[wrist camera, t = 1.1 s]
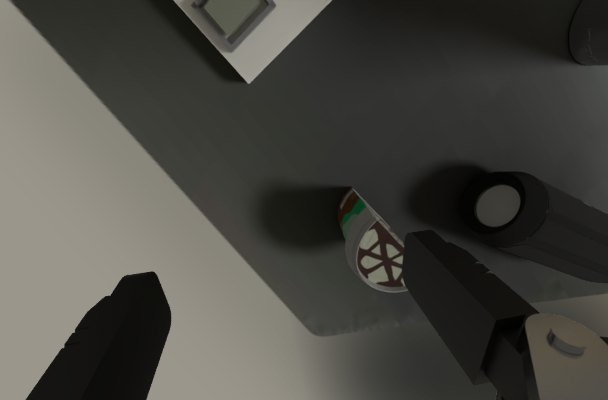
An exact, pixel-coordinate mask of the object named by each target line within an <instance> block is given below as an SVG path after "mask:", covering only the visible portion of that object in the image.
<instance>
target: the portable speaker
mask: <svg viewBox="0 0 608 400" xmlns="http://www.w3.org/2000/svg"><path fill="white" fill-rule="evenodd" d="M461 216H462V219H463V222H464V223H465V225H466V226H467V227H468V228H469V230H470V231H471V232H472V233H473V234H474V235H475V236H476V237H477V238H478V239H479V240H481V241H482V242H484V243H485V244H487V245H490V246H492V247H495V248H498V249H501V250H503V251H506V252H509V253H512V254H514V255H517V256H520V257H523V258H525V259H528V260H531V261H533V262H536V263H539V264H542V265H544V266H547V267H550V268H553V269H555V270H558V271H561V272H563V273H566V274H569V275H572V276H574V277H577V278H580V279H583V280H586V281H591V282H598V283H608V214H606V213H604V212H602V211H600V210H598V209H596V208H594V207H592V206H591V205H589V204H587V203H585V202H583V201H581V200H579V199H577V198H574V197H572V196H570V195H568V194H566V193H564V192H563V191H561V190H559V189H557V188H555V187H553V186H551V185H549V184H547V183H545V182H543V181H541V180H539V179H537V178H536V177H534V176H532V175H530V174H527V173H523V172H494V173H490V174H487V175H485V176H483V177H481V178H479V179H478V180H477V181H475V182H474V183H473V184H472V185H471V186H470V187H469V188H468V190H467V191H466V193H465V195H464V197H463V199H462V203H461Z"/></svg>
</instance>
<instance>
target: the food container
mask: <svg viewBox="0 0 608 400" xmlns="http://www.w3.org/2000/svg"><path fill="white" fill-rule="evenodd" d="M337 215H338V222H339V225H340V227H341V230H342V232H343V235H344V238H345V240H346V243H345V253H346V258H347V261H348V264H349V265H350V267H351V269H352V270H353V271H354V272H355V273H356V274H357V276H358V277H359V278H360V279H361V280H362V281H363V282H365V283H366V284H368V285H370V286H371V287H373V288H375V289H377V290H381V291H384V292H403V291H408V289H407V288H406V286H405V284H404V281H403V278H402V261H403V252H404V243H403V241H402V240H401V239H400V238H399V237H398V236H397V234H396V233H395V232H394V231H393V230H392V229H391V228H390V226H389V225H388V224H387V223H386V222H385V221H384V220H383V219H382V218H381V217H380V216H379V215H378V214H377V213H376V212H375V211H374V210H373V209H372V208H371V207H370V206H369V205H368V204H367V203H366V202H365V201H364V199H363V198H362V197H361V196H360V195H359V194H358V193H357V192H356V191H355V190H354V189H353V188H352V187H350V188H349V189H348V190H347V191H346V192H345V194H344V195H343V197H342V199H341V201H340V203H339V207H338V212H337Z"/></svg>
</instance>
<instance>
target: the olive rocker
mask: <svg viewBox="0 0 608 400" xmlns="http://www.w3.org/2000/svg"><path fill="white" fill-rule="evenodd" d="M259 4H260V1H259V0H209V2H208V3H207V4H206V5H205V7H204V8H205V10H206V11H207V12H208V13H209V14H210V15H211V17H212V18H213V19H214V20H215V21H216V22H217V24H218V25H219V26H220V27H221V28H222V29H223V30H224V32H225V33H226V34H227V35H228V36H232V35H233V34H234V33H235V32H236V30H237V29H238V28H239V27H240V26H241V25H242V24H243V23H244V21H245V20H246V19H247V18H248V17H249V16H250V15H251V13H252V12H253V11H254V10H255V9H256V8H257V7H258V6H259Z"/></svg>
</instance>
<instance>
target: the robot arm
mask: <svg viewBox="0 0 608 400" xmlns="http://www.w3.org/2000/svg"><path fill="white" fill-rule="evenodd" d="M569 46H570V51H571V54H572V56H573V57H574V59H575V60H576V61H577V62H579V63H581V64H583V65H588V66H590V65H608V0H583V1H582V2H581V4H580V6H579V7H578V9H577V11H576V13H575V16H574V18H573V21H572V24H571V28H570V33H569ZM402 278H403V281H404V284H405V286H406V288H407V289H408V291H409V292H410V294H411V295H412V297H413V298H414V300H415V301H416V302H417V304H418V305H419V307H420V308H421V310H422V311H423V312H424V314H425V315H426V317H427V318H428V320H429V321H430V323H431V324H432V325H433V327H434V328H435V330H436V331H437V333H438V334H439V336H440V337H441V338H442V340H443V341H444V343H445V344H446V346H447V347H448V349H449V350H450V351H451V353H452V354H453V356H454V357H455V359H456V360H457V362H458V363H459V364H460V366H461V367H462V369H463V370H464V371H465V373H466V374H467V376H468V377H469V378H470V380H471V382H472V383H473V385H478V384H483V383H487V382H491V383H492V384H493V385H494V386H495V388H496V389H497V390H498V391H497V394H496V400H608V337H599V336H597V335H596V334H595V333H594V332H592V331H591V330H589V329H588V328H586V327H584V326H583V325H581V324H579V323H577V322H575V321H573V320H570V319H568V318H565V317H562V316H559V315H554V314H548V313H539V312H538V311H537V310H536V309H534V308H533V307H532V306H531V305H530V304H529V303H527V302H526V301H525V300H524V299H523V298H522V297H520V296H519V295H518V294H517V293H516V292H515V291H513V290H512V289H511V288H510V287H509V286H507V285H506V284H505V283H504V282H503V281H502V280H500V279H499V278H498V277H497V276H496V275H495V274H491V272H490V270H489V269H488V268H486V267H485V266H484V265H483V264H480V263H479V261H478V260H477V259H476V258H475V257H473V256H472V255H471V254H470V253H469V252H468V251H466V250H464V249H462V248H460V247H458V246H456V245H454V244H452V243H450V242H448V243H446V242H445V241H444V240H443V239H442V238H441V237H440V236H439V235H438V234H436V233H435V232H434V231H432V230H425V231H418V232H412V233H408V234H407V235H406V237H405V243H404V252H403V261H402ZM170 326H171V311H170V307H169V304H168V302H167V299H166V297H165V294H164V292H163V289H162V287H161V284H160V281H159V279H158V277H157V275H156V273H155V272H146V273H139V274H133V275H126V276H124V277H123V278H122V279H121V280H120V282H119V283H118V285H117V286H116V288H115V289H114V291H113V293H112V294H111V296H105V297H104V298H103V299H102V300H100V301H99V302H98V303H97V304H96V305H95V306H94V307H92V308H91V309H90V310H89V311H88V312H87V313H86V315H85V316H84V317H83V319H82V320H81V322H80V323H79V324H78V326H77V327H76V329H75V333H72V335H71V336H70V337H69V339H68V340H67V342H66V343H65V347H64V348H62V349H61V350H60V351H59V353H58V355H57V356H56V357H55V359H54V360H53V362H52V363H51V364H50V366H49V367H48V369H47V370H46V371H45V373H44V374H43V376H42V377H41V379H40V380H39V381H38V383H37V384H36V386H35V387H34V388H33V390H32V391H31V393H30V394H29V396H28V397H27V399H26V400H146V399H147V396H148V393H149V390H150V387H151V384H152V381H153V378H154V375H155V372H156V369H157V366H158V363H159V360H160V357H161V354H162V351H163V348H164V345H165V342H166V339H167V336H168V333H169V330H170Z"/></svg>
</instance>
